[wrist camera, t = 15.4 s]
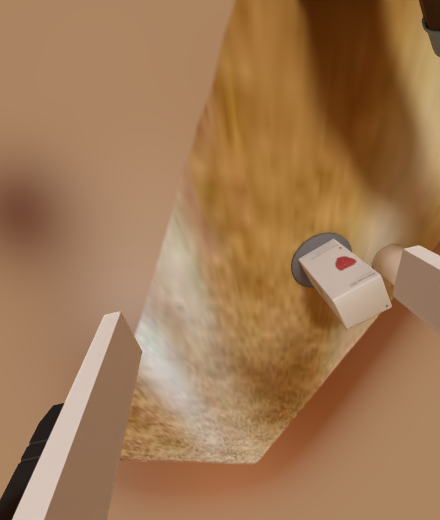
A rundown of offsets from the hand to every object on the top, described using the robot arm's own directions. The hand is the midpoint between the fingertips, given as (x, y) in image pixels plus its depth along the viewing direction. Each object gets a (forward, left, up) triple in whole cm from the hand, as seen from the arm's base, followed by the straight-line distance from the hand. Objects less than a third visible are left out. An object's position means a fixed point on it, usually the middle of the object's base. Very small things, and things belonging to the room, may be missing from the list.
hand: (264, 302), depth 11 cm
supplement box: (+23, +23, -36) cm, 48 cm away
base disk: (+23, +23, -36) cm, 48 cm away
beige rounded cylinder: (+26, +40, -36) cm, 60 cm away
